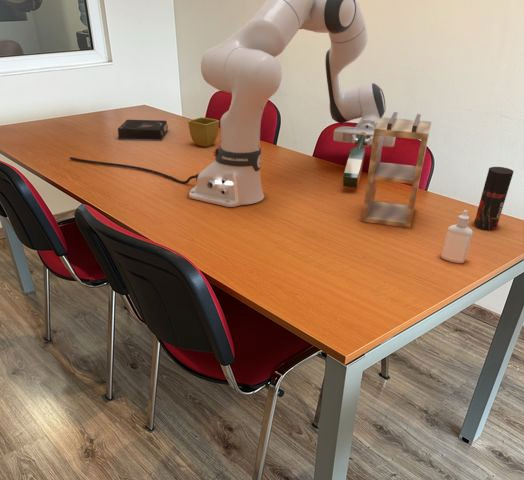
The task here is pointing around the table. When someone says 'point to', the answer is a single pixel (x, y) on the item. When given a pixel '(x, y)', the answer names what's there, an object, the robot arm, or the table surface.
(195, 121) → the flower pot
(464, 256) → the eye dropper bottle
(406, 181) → the bottle rack
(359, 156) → the bottle
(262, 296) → the table surface
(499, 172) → the deodorant
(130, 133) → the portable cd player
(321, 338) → the table surface
